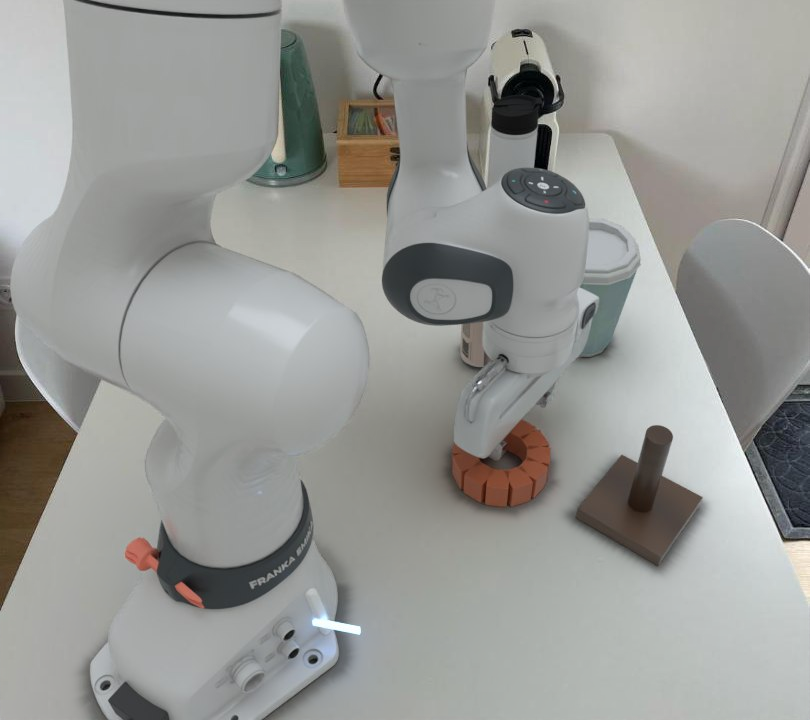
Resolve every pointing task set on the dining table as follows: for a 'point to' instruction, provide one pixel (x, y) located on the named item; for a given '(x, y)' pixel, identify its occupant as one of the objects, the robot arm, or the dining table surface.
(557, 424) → the dining table surface
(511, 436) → the ring
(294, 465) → the robot arm
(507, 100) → the white water bottle
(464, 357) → the beer can
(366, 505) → the dining table surface
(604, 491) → the stand
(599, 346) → the disposable coffee cup
